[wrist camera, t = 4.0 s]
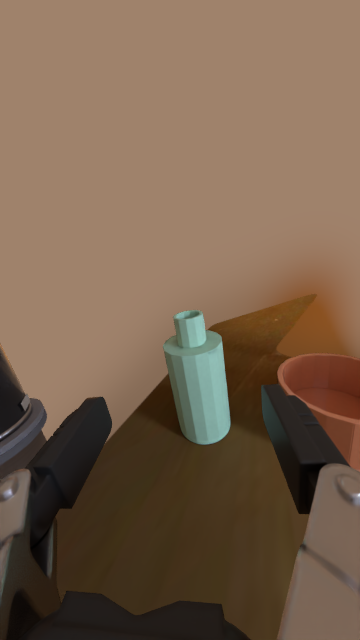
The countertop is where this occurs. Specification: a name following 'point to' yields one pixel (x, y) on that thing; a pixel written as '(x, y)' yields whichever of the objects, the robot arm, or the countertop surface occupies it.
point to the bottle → (198, 379)
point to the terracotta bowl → (328, 396)
